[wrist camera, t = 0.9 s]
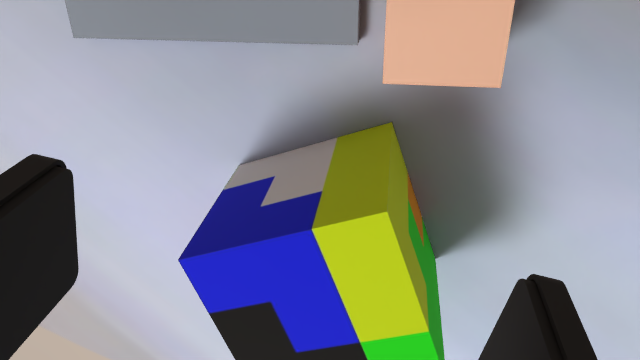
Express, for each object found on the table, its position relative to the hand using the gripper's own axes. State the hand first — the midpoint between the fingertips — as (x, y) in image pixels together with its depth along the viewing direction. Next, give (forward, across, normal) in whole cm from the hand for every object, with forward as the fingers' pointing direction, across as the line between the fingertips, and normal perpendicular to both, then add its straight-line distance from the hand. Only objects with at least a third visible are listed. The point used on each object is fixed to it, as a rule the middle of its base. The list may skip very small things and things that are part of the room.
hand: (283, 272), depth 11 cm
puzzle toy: (+20, -1, +11) cm, 22 cm away
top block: (+20, -4, -3) cm, 20 cm away
